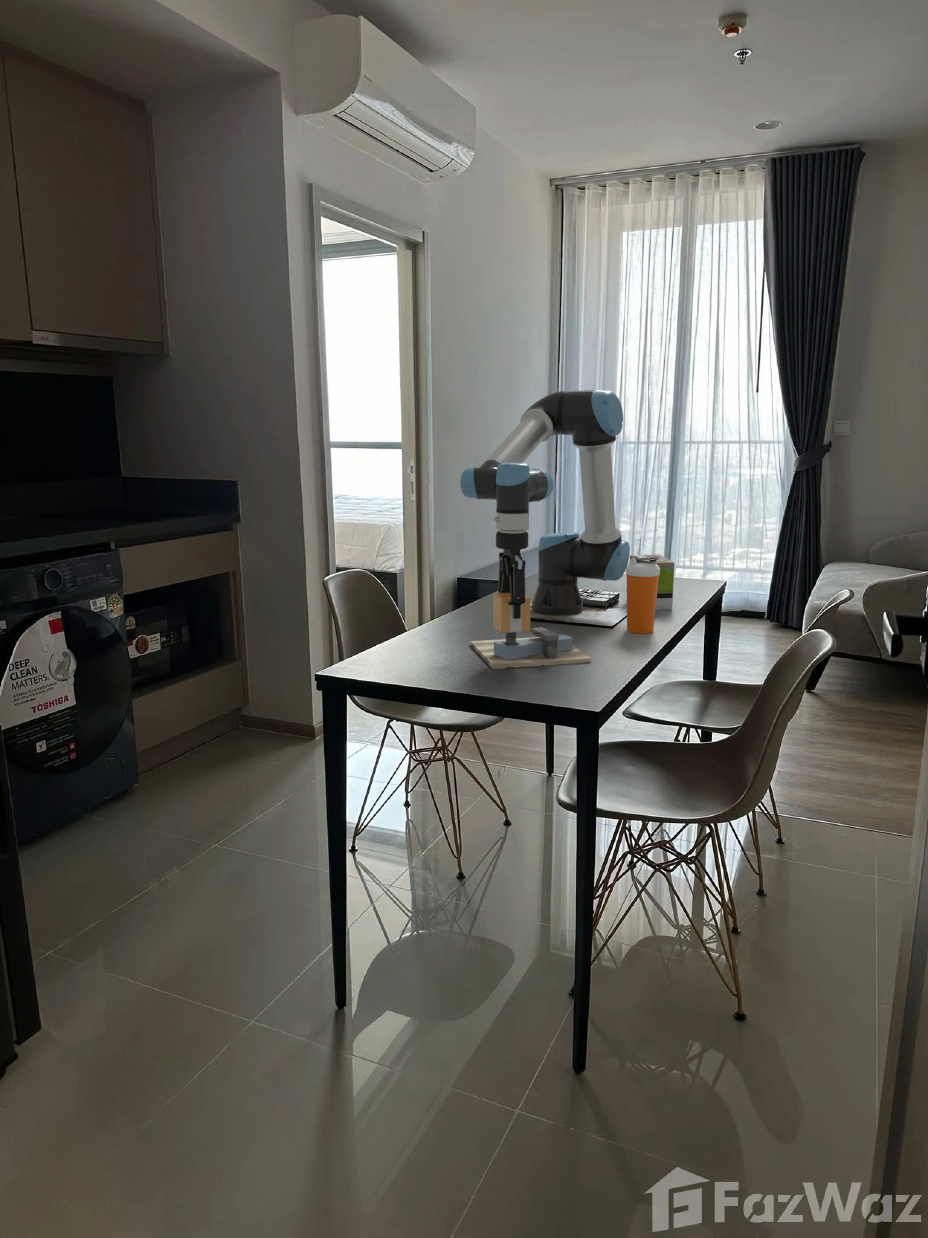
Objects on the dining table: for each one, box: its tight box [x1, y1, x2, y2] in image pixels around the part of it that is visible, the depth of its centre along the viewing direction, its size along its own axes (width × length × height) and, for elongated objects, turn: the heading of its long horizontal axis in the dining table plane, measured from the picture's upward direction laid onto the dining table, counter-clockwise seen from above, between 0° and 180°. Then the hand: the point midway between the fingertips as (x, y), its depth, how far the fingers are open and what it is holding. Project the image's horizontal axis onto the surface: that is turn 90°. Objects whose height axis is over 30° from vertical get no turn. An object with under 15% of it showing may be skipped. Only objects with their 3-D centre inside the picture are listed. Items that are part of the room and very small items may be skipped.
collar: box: [492, 592, 532, 634], centre depth 206 cm, size 7×7×8 cm
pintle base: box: [469, 626, 592, 669], centre depth 214 cm, size 22×24×10 cm
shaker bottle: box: [625, 556, 660, 635], centre depth 235 cm, size 9×9×20 cm
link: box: [494, 634, 574, 660], centre depth 211 cm, size 19×6×3 cm, turn 115°
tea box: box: [629, 554, 675, 611], centre depth 267 cm, size 15×10×15 cm, turn 5°
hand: (510, 627), depth 207 cm, fingers closed on collar, 7 cm apart
